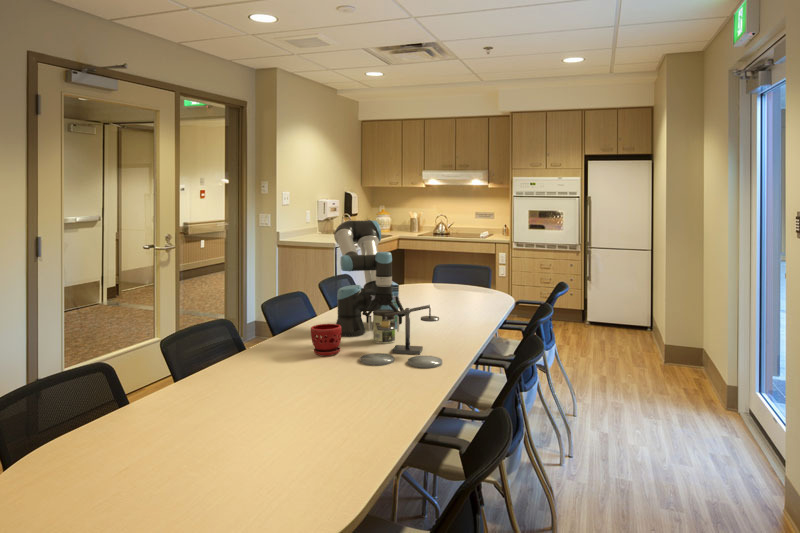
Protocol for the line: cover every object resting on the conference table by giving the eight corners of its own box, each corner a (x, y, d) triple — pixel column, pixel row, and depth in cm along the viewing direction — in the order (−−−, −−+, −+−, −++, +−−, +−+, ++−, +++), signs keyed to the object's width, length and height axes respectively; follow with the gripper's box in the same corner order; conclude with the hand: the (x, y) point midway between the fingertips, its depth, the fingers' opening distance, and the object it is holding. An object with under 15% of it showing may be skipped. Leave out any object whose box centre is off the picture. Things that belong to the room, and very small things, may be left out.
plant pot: (345, 350, 257) (345, 323, 256) (335, 358, 244) (335, 330, 243) (317, 348, 260) (317, 322, 259) (306, 356, 247) (305, 328, 246)
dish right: (405, 367, 232) (405, 364, 232) (410, 357, 245) (410, 354, 245) (440, 369, 229) (440, 366, 229) (444, 359, 243) (444, 356, 243)
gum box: (380, 321, 314) (380, 279, 312) (390, 321, 316) (390, 279, 313) (389, 329, 296) (389, 284, 293) (399, 329, 297) (399, 284, 294)
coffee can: (397, 338, 277) (397, 309, 275) (392, 344, 267) (392, 314, 265) (376, 337, 279) (375, 308, 277) (370, 343, 269) (370, 313, 267)
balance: (374, 352, 253) (374, 304, 251) (379, 347, 261) (378, 301, 259) (437, 355, 248) (438, 306, 246) (440, 350, 256) (440, 303, 253)
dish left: (356, 364, 235) (356, 361, 235) (364, 355, 249) (364, 352, 249) (390, 366, 233) (390, 363, 233) (396, 356, 246) (396, 353, 246)
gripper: (355, 285, 268) (356, 331, 271) (409, 287, 264) (409, 333, 266) (359, 283, 276) (360, 327, 278) (411, 284, 271) (411, 329, 273)
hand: (384, 330), depth 272 cm, fingers open, 13 cm apart
